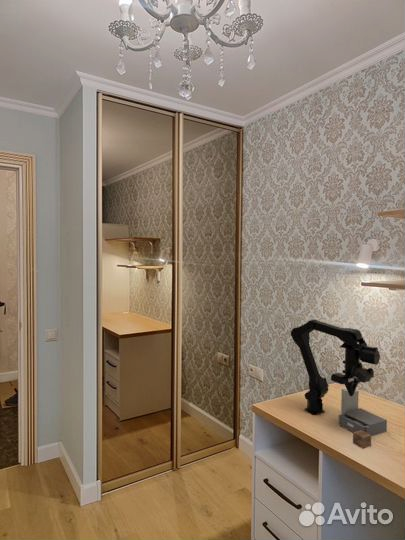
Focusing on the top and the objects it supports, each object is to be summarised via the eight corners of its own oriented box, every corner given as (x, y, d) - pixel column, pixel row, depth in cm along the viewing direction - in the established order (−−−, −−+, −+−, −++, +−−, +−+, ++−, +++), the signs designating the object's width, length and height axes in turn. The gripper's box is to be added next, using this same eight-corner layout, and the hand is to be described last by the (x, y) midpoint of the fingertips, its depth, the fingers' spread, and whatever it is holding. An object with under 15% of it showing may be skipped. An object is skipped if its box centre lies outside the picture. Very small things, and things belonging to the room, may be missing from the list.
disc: (349, 421, 156) (349, 417, 156) (360, 418, 159) (360, 414, 159) (363, 429, 150) (363, 424, 150) (375, 425, 153) (375, 421, 153)
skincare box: (353, 414, 168) (354, 387, 167) (358, 418, 163) (359, 391, 163) (340, 414, 167) (341, 388, 167) (345, 419, 163) (345, 391, 162)
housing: (340, 424, 158) (340, 413, 158) (359, 418, 163) (360, 408, 163) (366, 437, 146) (366, 426, 146) (386, 431, 152) (386, 419, 152)
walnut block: (352, 442, 143) (353, 432, 142) (361, 440, 145) (361, 429, 144) (362, 448, 139) (363, 437, 138) (370, 445, 141) (371, 435, 140)
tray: (338, 424, 157) (338, 415, 157) (358, 418, 162) (358, 409, 162) (363, 437, 146) (363, 427, 146) (383, 430, 151) (383, 421, 151)
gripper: (352, 367, 146) (351, 407, 146) (384, 361, 154) (382, 398, 155) (330, 360, 156) (329, 397, 156) (361, 355, 164) (360, 389, 165)
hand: (351, 395), depth 158 cm, fingers closed
